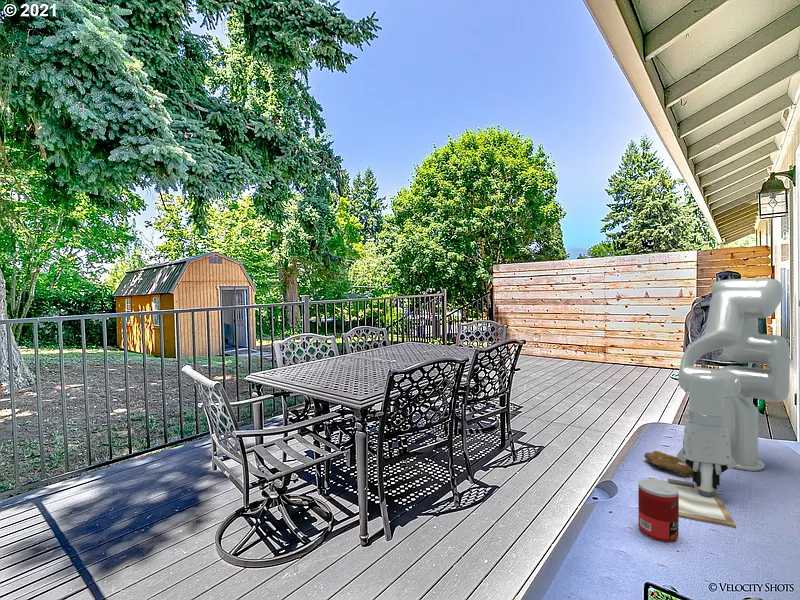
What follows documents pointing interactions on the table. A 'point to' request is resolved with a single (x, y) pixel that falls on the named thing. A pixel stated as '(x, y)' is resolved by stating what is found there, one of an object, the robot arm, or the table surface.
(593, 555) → the table surface
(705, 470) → the marker
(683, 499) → the clipboard
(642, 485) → the canned food
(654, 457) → the decorative rock
